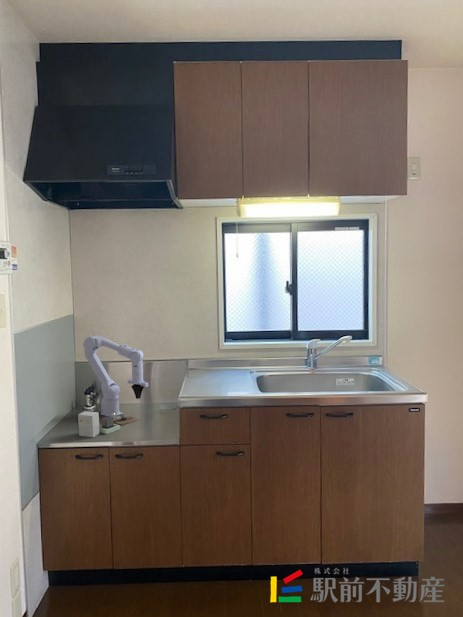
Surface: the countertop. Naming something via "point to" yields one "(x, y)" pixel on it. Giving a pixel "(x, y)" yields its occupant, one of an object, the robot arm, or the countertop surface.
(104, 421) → the block
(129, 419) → the crank base
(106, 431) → the tray
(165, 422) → the countertop surface
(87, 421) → the small box
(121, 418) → the crank
